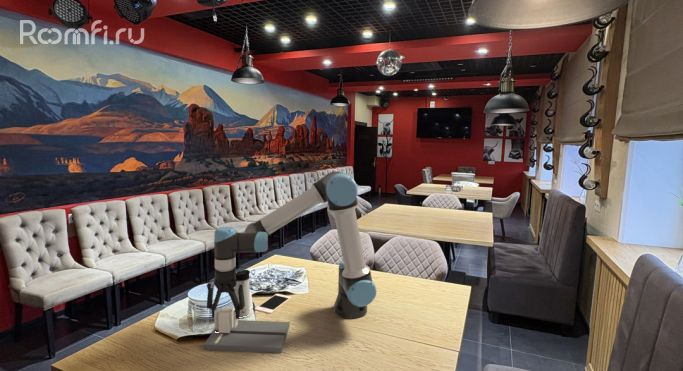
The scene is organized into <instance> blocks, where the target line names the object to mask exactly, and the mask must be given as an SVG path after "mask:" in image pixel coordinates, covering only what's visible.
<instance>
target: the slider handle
mask: <svg viewBox="0 0 683 371" xmlns="http://www.w3.org/2000/svg"><path fill="white" fill-rule="evenodd" d="M233 311H234V306H227V305H226V306H225V305H223V306H222V308H220V309H219V312H218V317H219V333H230V331H231V329H232V328H233Z"/></svg>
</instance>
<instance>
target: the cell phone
mask: <svg viewBox="0 0 683 371" xmlns="http://www.w3.org/2000/svg"><path fill="white" fill-rule="evenodd" d="M291 299H292V296H289V295H284V294H282V293H275V294H273V296H271V297H269V298H268V299H266V300H265V301H264V302H262V303H260V304H259V305H257V306H256V307H255V308H254V310H255V311H258V312H262V313H266V314H268V315H271V314H273V313H274V312H275V311H276V310H278V309H279V308H281V307H282V306H283V305H284V304H286V303H287V302H288V301H290V300H291Z"/></svg>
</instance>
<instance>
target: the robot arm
mask: <svg viewBox="0 0 683 371" xmlns="http://www.w3.org/2000/svg"><path fill="white" fill-rule="evenodd" d="M358 192H359V190H358V185H357V183H356V181H355V180H354V179H353V177H351V176H350V175H348V174H346V173H343V172H341V171H331V172H329V173H327V174H325V175H324V176H322V177H321V178H319V179H318V180H316V181H315V182H314V183H312V184H311V187H310V188H308V189H307V190H305V191H304V192H302V193H300V194H299V195H297V196H296V197H294V198H292V199H291V200H289V201H287V202H286V203H284V204H283V205H281V206H279V207H278V208H276V209H275V210H273V211H271V212H270V213H268V214H266V215H265V216H263V217H261V218H260V219H258V220H256V221H255V222H251V223H249V224H248V225H247V226H246V227H245V229H244V232H237V231H236V228H235V227H234V226H221V227H217V228H216V229H215V230H214V235H213V236H214V241H213V245H214V246H213V247H214V268H215V269H214V281H209V282H208V283H207V284H206V288H207V298H206V299H207V300H206V309H207V310H208V309H210V310H211V318H212V319H213V320H214V328H216V327H217V326H218V324H219V317H218V312H219V311H220V308H219V307H218V304H219V301H220V299H221V295H222V293H223V294H224V293H226V294H228V296H229V297H230V300H231V302H232V305H233V328H236V326H237V325H238V320H240V318H239V317H240V310H243V308H244V307H245V301H244V292H243V287H244V283H238V282H237V281H236V272H237V268H236V264H237V263H236V262H237V261H236V260H237V259H236V254H237V253H242V254H243V253H264V252H267V250H268V248H269V246H268V241H269V237H268V236H270V235H271V234H273V233H274V232H276V231H277V230H279V229H281V228H283V227H284V226H286V225H287V224H289V223H291V222H293V220H296V219H297V218H299V217H300V216H302V215H303V214H305V213H306V212H308V211H310V210H311V209H313V208H314V207H316V206H318V205H319V204H326V203H327V205H328V210H329V212H331V213H332V214H333V216H334V221H335V226H336V230H337V236H338V242H339V246H340V251H341V258H342V261H340V262H339V263H338V282H337V283H338V288H337V290H338V291H337V292H338V293H337V296H336V299H335V301H334V304H333V311H334V313H335V314H336V315H337V316H339V317H340V318H341V317H342V318H344V319H346V318H347V319H359V318H362V317H364V316H365V315H367V313H368V305H370V304H372V303H373V301H375V300H374V299H376V296H377V288H376V287H377V286H376V284H375V283H374V282H373V277H372V274H371V273H372V272H371V268H370V266H368V265H367V264H366V261H365V256H364V255H365V254H364V251H363V244H362V239H361V234H360V230H359V229H360V228H359V224H358V218H357V213H356V208H357V207H358V206H359V203H358V199H357V198H358V197H357V196H358ZM235 286H237V289H238V296H239V302H238V299H237V296H236V294H235V289H234V287H235ZM214 287H215V288H216V289H217V291H216V293H215V298H214V289H215V288H214ZM213 298H214V299H213Z"/></svg>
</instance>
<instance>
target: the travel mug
mask: <svg viewBox="0 0 683 371" xmlns="http://www.w3.org/2000/svg"><path fill="white" fill-rule="evenodd" d="M250 273H251V271H250V270H249V269H241V270H238V271H237V270H236V281H237V282H238V283H244V287H243V292H244V301H245V307H244V308H243V310H240V317H243V316H247V315H248V314H249V313H250V311H251V309H250V304H251V303H250V302H251V301H250V288H251V287H250ZM234 289H235V294H236V296H237V299H238V302H239V296H238V289H237V286H235V287H234Z"/></svg>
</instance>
